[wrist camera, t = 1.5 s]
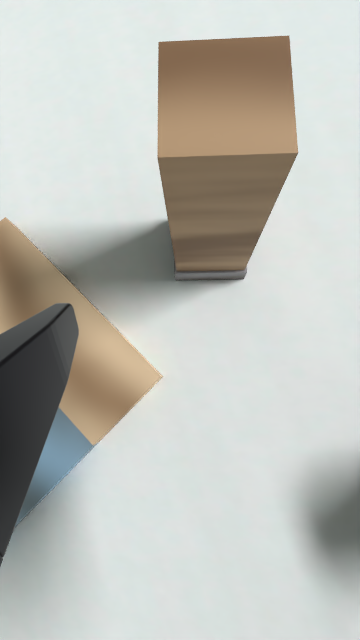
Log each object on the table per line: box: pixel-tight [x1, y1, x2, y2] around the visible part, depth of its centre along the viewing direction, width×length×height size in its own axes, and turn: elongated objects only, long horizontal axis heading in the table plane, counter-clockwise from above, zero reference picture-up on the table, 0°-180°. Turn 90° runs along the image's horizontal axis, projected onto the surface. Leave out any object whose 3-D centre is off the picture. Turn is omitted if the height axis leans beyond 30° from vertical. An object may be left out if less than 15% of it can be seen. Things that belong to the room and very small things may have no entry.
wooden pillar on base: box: [158, 36, 298, 280], centre depth 17 cm, size 5×5×13 cm
